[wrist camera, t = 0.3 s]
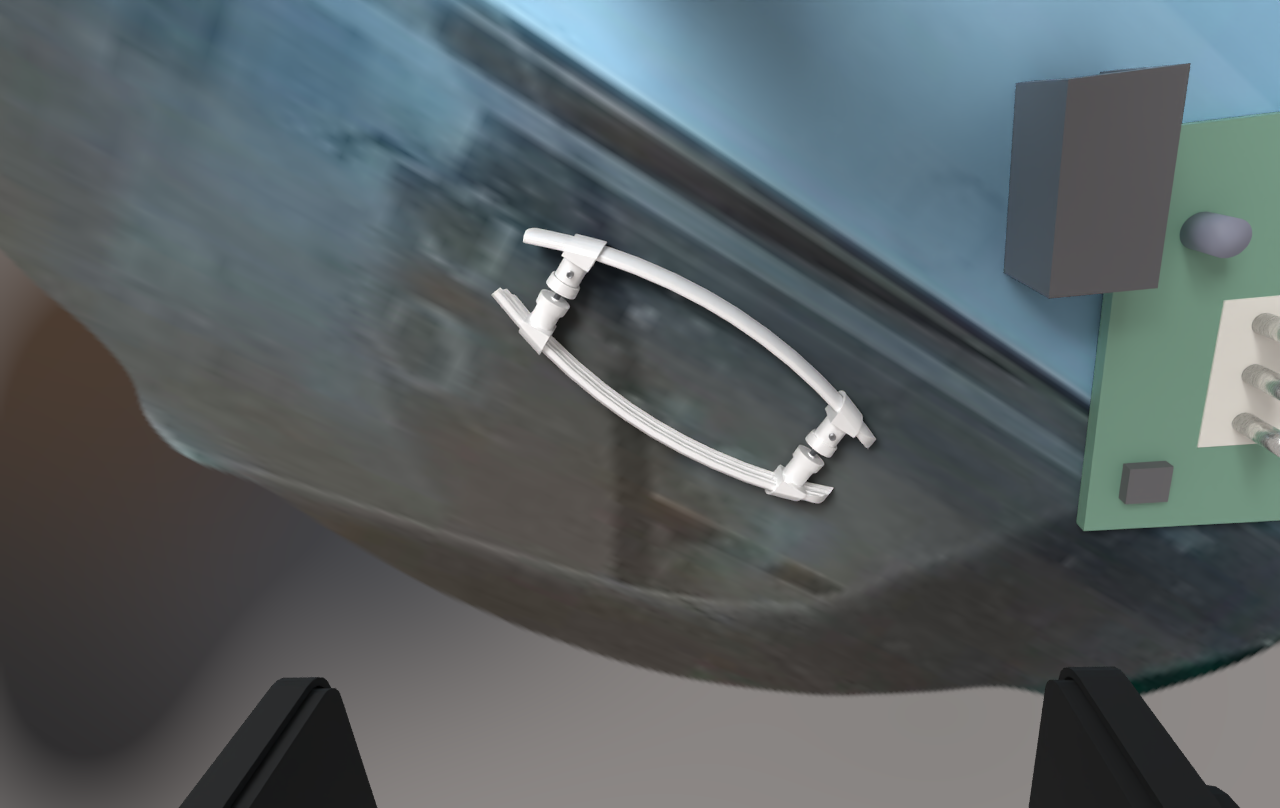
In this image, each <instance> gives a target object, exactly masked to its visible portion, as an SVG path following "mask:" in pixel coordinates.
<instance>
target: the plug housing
mask: <svg viewBox="0 0 1280 808" xmlns="http://www.w3.org/2000/svg"><path fill="white" fill-rule="evenodd" d="M1190 64H1191V63H1188V64H1177V65H1165V66H1154V67H1143V68H1131V69H1120V70H1112V71H1104V72H1100V74H1098V75H1090V76H1083V77H1075V78H1063V79H1050V80H1037V81H1028V82H1021V83H1016V90H1015V105H1014V120H1013V136H1012V151H1011V167H1010V182H1009V197H1008V213H1007V228H1006V244H1005V259H1004V273H1005V274H1007V275H1008V276H1010V277H1012V278H1014V279H1015V280H1017V281H1019V282H1021V283H1022V284H1024V285H1026V286H1028V287H1029V288H1031V289H1033V290H1035V291H1036V292H1038V293H1040V294H1042V295H1044V296H1045V297H1047V298H1059V297H1070V296H1081V295H1091V294H1102V293H1112V292H1123V291H1134V290H1144V289H1155V288H1158V283H1159V276H1160V269H1161V262H1162V255H1163V249H1164V242H1165V235H1166V228H1167V221H1168V214H1169V208H1170V201H1171V194H1172V187H1173V180H1174V173H1175V166H1176V160H1177V153H1178V146H1179V139H1180V132H1181V125H1182V119H1183V112H1184V105H1185V98H1186V91H1187V84H1188V77H1189V71H1190Z"/></svg>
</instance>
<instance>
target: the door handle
mask: <svg viewBox="0 0 1280 808" xmlns="http://www.w3.org/2000/svg"><path fill="white" fill-rule="evenodd" d="M523 243H527V244H532V245H537V246H541V247H546V248H551V249H555V250H560V251H564V252H563V254H562V255H561V256H563V257H564V258H563V260H562V262H561V263H560V265H559V267H558V269H557V270H556V271H553V272H552V273H551V275H550V276H549V278H548V279H547V281H546V283H547V285H548V286H549V287H550V288H551V289H552V290H553V291H554V292H556V293H554V292H552V291H549V290H545V289H543V290H541V292H540V294H539V296H538V298H537V300H536V303H537V305H536V307H535V309H534V311H532V312H531V313H530V312H529V311H528V309H527V308H526V307H525V306H524V304H523V303H522V302H521V301H520V300H519V298H518V297H517V296H515V295H512V294H511V293H510V292H509V290H508V289H504V290H502V289H501V287H500V288H499V289H498V290H496V291H495V292H494V293H493V294H491V295H492V296H493V298H494V299H495V300H496V301H497V302H498V303H499V305H500V306H501V307H502V308H503V309H504V311H505V312H506V313H507V314H508V315H509V317H510V318H511V319H512V320H513V321H514V323H515V324H516V325H517V326H518V327H519V328H520V329H519V333H520V334H521V335H522V336H523V338H524V339H525V340H526V341H527V342H528V343H529V344H530V345H531V346H532V348H533V349H534V350H535V351H536V352H537V353H538V354H539V355H540V354H541V352H543V353H544V354H545V355H546V356H547V357H548V358H549V359H550V360H551V361H552V362H553V363H554V364H555V365H557V366H558V367H559V368H560V369H561V370H562V371H563V372H564V373H565V374H566V375H567V376H568V377H570V378H571V379H572V380H573V381H574V382H576V383H577V384H578V385H579V386H580V387H582V388H583V389H584V390H585V391H586V392H588V393H589V394H590V395H591V396H592V397H594V398H595V399H596V400H597V401H599V402H600V403H602V404H603V405H604V406H606V407H607V408H608V409H610V410H611V411H612V412H614V413H615V414H617V415H618V416H619V417H621V418H622V419H623V420H625V421H626V422H628V423H630V424H631V425H633V426H634V427H636V428H637V429H639V430H640V431H642V432H644V433H645V434H647V435H648V436H650V437H652V438H653V439H655V440H657V441H659V442H661V443H662V444H664V445H666V446H668V447H669V448H671V449H673V450H675V451H677V452H678V453H680V454H682V455H684V456H686V457H688V458H691V459H693V460H695V461H697V462H699V463H701V464H703V465H705V466H707V467H709V468H711V469H714V470H716V471H719V472H721V473H724V474H726V475H728V476H731V477H733V478H736V479H738V480H741V481H743V482H746V483H749V484H752V485H755V486H758V487H761V488H764V489H765V492H766V494H769V495H773V496H777V497H781V498H785V499H789V500H793V501H800V500H804V501H808V502H812V503H821V502H823V501H824V500H825V498H826V497H827V496H828V495H829V494H830V493H831V491H832V490H833V487H829V486H824V485H819V484H815V483H810V482H806V481H807V480H808V478H809V477H810V476H811V475H812V474H813V473H817V472H818V471H819V470H820V469H821V468H822V467H823V466H824V462H823V460H822V459H821V458H820V457H819V456H818V455H817V453H819V454H821V455H823V456H825V457H828V458H830V457H831V456H832V455H833V453H834V452H835V451H836V449H837V446H836V445H837V444H838V443H839V441H840V440H841V439H842V438H843V437H844V435H845V434H846V433H847V434H848V435H850V436H851V437H853V438H854V437H855V436H856V437H857V438H858V439H859V440H860V442H861V443H862V444H863V445H864V446H865V447H866V448H869V447H870V446H871V445H872V444H873V443H874V441H875V440H876V438H875V437H874V435H873V434H872V432H871V431H870V429H869V428H868V427H867V425H866V424H865V423H864V422H863V416H862V414H861V412H860V411H859V410H858V408H857V407H856V406H855V405H854V403H853V402H852V401H851V399H850V398H849V397H848V396H847V394H846V393H845V392H844V391H842V390H841V391H839V392H838V391H837V390H836V389H835V388H834V387H833V386H832V385H831V384H830V383H829V382H828V381H827V380H826V379H825V378H824V377H823V376H822V375H821V374H820V373H819V372H818V371H817V370H816V369H815V368H814V367H813V366H812V365H810V364H809V363H808V362H807V361H806V360H805V359H804V358H803V357H802V356H801V355H800V354H799V353H797V352H796V351H795V350H794V349H793V348H791V347H790V346H789V345H788V344H786V343H785V342H784V341H783V340H781V339H780V338H779V337H778V336H776V335H775V334H774V333H773V332H771V331H770V330H769V329H768V328H766V327H765V326H763V325H762V324H760V323H759V322H758V321H756V320H755V319H753V318H752V317H750V316H749V315H747V314H746V313H745V312H743V311H742V310H740V309H739V308H737V307H736V306H734V305H732V304H731V303H729V302H727V301H726V300H724V299H722V298H721V297H719V296H717V295H716V294H714V293H712V292H711V291H709V290H707V289H705V288H703V287H701V286H699V285H697V284H695V283H693V282H691V281H690V280H688V279H686V278H684V277H682V276H680V275H678V274H676V273H674V272H671V271H669V270H667V269H664V268H662V267H660V266H658V265H655V264H653V263H651V262H648V261H646V260H644V259H641V258H639V257H636V256H633V255H630V254H628V253H625V252H622V251H619V250H617V249H614V248H611V247H608V246H605V245H606V243H607V241H603V240H599V239H595V238H591V237H587V236H583V235H579V234H575V236H571V235H567V234H563V233H558V232H553V231H549V230H544V229H539V228H530V229H527V230H526V232H525V234H524V238H523ZM596 261H598V262H601V263H604V264H607V265H610V266H612V267H615V268H618V269H621V270H624V271H627V272H629V273H632V274H635V275H637V276H639V277H642V278H644V279H646V280H649V281H651V282H653V283H656V284H658V285H660V286H663V287H665V288H667V289H669V290H671V291H673V292H675V293H677V294H679V295H681V296H683V297H685V298H687V299H689V300H691V301H693V302H695V303H697V304H699V305H701V306H703V307H704V308H706V309H708V310H709V311H711V312H713V313H714V314H716V315H718V316H719V317H721V318H723V319H724V320H726V321H728V322H729V323H731V324H732V325H734V326H735V327H737V328H738V329H740V330H741V331H743V332H744V333H746V334H747V335H748V336H750V337H751V338H753V339H754V340H756V341H757V342H759V343H760V344H761V345H763V346H764V347H765V348H766V349H768V350H769V351H770V352H771V353H773V354H774V355H775V356H777V357H778V358H779V359H780V360H782V361H783V362H784V363H785V364H787V365H788V366H789V367H790V368H791V369H792V370H793V371H795V372H796V373H797V374H798V375H799V376H800V377H801V378H802V379H803V380H804V381H806V382H807V383H808V384H809V385H810V386H811V387H812V388H813V389H814V390H815V391H816V392H817V393H818V394H819V395H820V396H821V397H822V398H823V399H824V400H825V401H826V402H827V403H828V406H827V407H826V408H825V410H826V413H827V417H826V418H825V419H824V420H823V422H822V423H821V424H820V425H819V427H818V428H817V429H816V430H815V429H813V430H812V431H811V432H810V433H809V434H808V435H807V436H806V438H805V439H806V441H807V443H808V444H809V445H810V446H811V447H812V448H813V449H812V450H811V449H809V448H807V447H806V446H803V445H799V446H798V447H797V449H796V450H795V452H794V453H793V458H792V460H791V461H790V462H789V463H788V464H787V466H786V467H784V466H782V465H781V464H780V465H779V466H778V467H777V469H776V470H775V471H774V472H772V471H769V470H766V469H763V468H760V467H757V466H754V465H751V464H748V463H745V462H743V461H741V460H738V459H736V458H733V457H731V456H728V455H726V454H724V453H721V452H719V451H716V450H714V449H712V448H710V447H708V446H706V445H704V444H702V443H700V442H698V441H696V440H693V439H691V438H689V437H687V436H685V435H684V434H682V433H680V432H678V431H676V430H675V429H673V428H671V427H669V426H668V425H666V424H664V423H662V422H660V421H659V420H657V419H655V418H654V417H652V416H651V415H649V414H648V413H646V412H645V411H643V410H641V409H640V408H638V407H637V406H635V405H634V404H632V403H631V402H630V401H628V400H627V399H625V398H624V397H623V396H621V395H620V394H619V393H617V392H616V391H615V390H613V389H612V388H611V387H609V386H608V385H607V384H605V383H604V382H603V381H602V380H600V379H599V378H598V377H597V376H596V375H594V374H593V373H592V372H591V371H590V370H588V369H587V368H586V367H585V366H584V365H582V364H581V363H580V362H579V361H578V360H577V359H576V358H575V357H574V356H573V355H571V354H570V353H569V352H568V351H567V350H566V349H565V348H564V347H563V346H562V345H561V344H560V343H559V342H558V341H557V340H556V339H555V338H554V337H553V336H552V334H553V332H554V330H555V329H556V327H557V326H556V323H557V321H558V320H559V318H560V317H563V316H564V315H565V314H566V312H567V311H568V309H569V308H570V305H569V304H568V302H567V301H566V300H565V299H563V298H562V297H561V296H563V297H565V298H568V299H575V298H576V296H577V294H578V292H579V290H580V286H579V284H580V283H581V281H582V279H583V278H584V276H585V274H586V272H588V271H589V270H590V269H591V267H592V266H593V265H594V263H595V262H596Z"/></svg>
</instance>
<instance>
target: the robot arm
mask: <svg viewBox="0 0 1280 808" xmlns="http://www.w3.org/2000/svg"><path fill="white" fill-rule="evenodd" d="M179 808H377V806H376V802H375V799H374V796H373V793H372V790H371V787H370V784H369V781H368V778H367V775H366V772H365V769H364V766H363V763H362V759H361V756H360V753H359V750H358V747H357V744H356V741H355V738H354V735H353V732H352V729H351V726H350V723H349V719H348V716H347V713H346V710H345V707H344V704H343V701H342V698H341V696H340V693H339V691H338V690H336V689H335V688H331V687H330V685H329V683H328V681H327V680H326V679H324V678H319V677H315V678H314V677H310V678H282V679H280V680H277V681H276V683H274V684H273V685H272V686H271V688H270V689H269V690H268V692H267V693H266V694H265V695H264V697H263V698H262V699H261V701H260V702H259V703H258V705H257V706H256V708H255V709H254V710H253V711H252V713H251V714H250V715H249V716H248V718H247V719H246V720H245V722H244V723H243V724H242V726H241V727H240V728H239V730H238V731H237V732H236V733H235V735H234V736H233V737H232V739H231V740H230V741H229V743H228V744H227V745H226V747H225V748H224V749H223V751H222V752H221V753H220V755H219V756H218V757H217V758H216V760H215V761H214V762H213V764H212V765H211V766H210V768H209V769H208V770H207V772H206V773H205V774H204V775H203V777H202V778H201V779H200V781H199V782H198V783H197V785H196V786H195V787H194V789H193V790H192V791H191V793H190V794H189V795H188V797H187V798H186V799H185V800H184V802H183V803H182V804H181V806H180V807H179ZM1029 808H1240V807H1239V806H1238V805H1237V804H1236V803H1235V802H1234V801H1233V800H1232V799H1231V798H1230V796H1229V795H1228V794H1226V793H1225V792H1223V791H1222V790H1220V789H1219V788H1217V787H1215V786H1209V785H1206V784H1205V783H1204V781H1203V780H1202V779H1201V777H1200V776H1199V775H1198V773H1197V772H1196V771H1195V769H1194V768H1193V767H1192V765H1191V764H1190V762H1189V761H1188V760H1187V758H1186V757H1185V756H1184V754H1183V753H1182V752H1181V750H1180V749H1179V748H1178V746H1177V745H1176V743H1175V742H1174V741H1173V739H1172V738H1171V737H1170V735H1169V734H1168V733H1167V731H1166V730H1165V728H1164V727H1163V726H1162V724H1161V723H1160V722H1159V720H1158V719H1157V718H1156V716H1155V715H1154V714H1153V712H1152V711H1151V709H1150V708H1149V707H1148V706H1147V704H1146V703H1145V701H1144V700H1143V699H1142V697H1141V696H1140V694H1139V693H1138V692H1137V690H1136V689H1135V688H1134V686H1133V685H1132V684H1131V682H1130V681H1129V680H1128V678H1127V677H1126V676H1125V675H1124V673H1123V672H1122V671H1121V670H1119V669H1118V668H1116V667H1068V668H1063V670H1062V671H1061V672H1060V676H1059V680H1049V681H1048V682H1047V684H1046V688H1045V694H1044V701H1043V708H1042V716H1041V723H1040V730H1039V738H1038V744H1037V751H1036V759H1035V766H1034V773H1033V780H1032V788H1031V795H1030V802H1029Z"/></svg>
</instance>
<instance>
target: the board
mask: <svg viewBox="0 0 1280 808" xmlns="http://www.w3.org/2000/svg"><path fill="white" fill-rule="evenodd" d="M1262 313H1271V314H1274V315H1276V316H1279V317H1280V112H1272V113H1264V114H1256V115H1247V116H1239V117H1231V118H1223V119H1214V120H1206V121H1198V122H1189V123H1182V125H1181V132H1180V139H1179V146H1178V153H1177V160H1176V166H1175V173H1174V180H1173V187H1172V194H1171V201H1170V208H1169V214H1168V221H1167V228H1166V235H1165V242H1164V249H1163V255H1162V262H1161V269H1160V276H1159V283H1158V288H1155V289H1144V290H1134V291H1123V292H1112V293H1103V301H1102V310H1101V318H1100V327H1099V335H1098V343H1097V352H1096V360H1095V369H1094V377H1093V386H1092V394H1091V403H1090V411H1089V419H1088V428H1087V436H1086V445H1085V453H1084V462H1083V470H1082V479H1081V487H1080V495H1079V504H1078V512H1077V521H1076V523H1077V524H1078V525H1079V526H1080V527H1081V529H1082V530H1083V531H1094V530H1113V529H1131V528H1149V527H1168V526H1186V525H1204V524H1223V523H1241V522H1259V521H1278V520H1280V457H1278V456H1277V455H1275V454H1273V453H1272V452H1270V451H1268V450H1267V449H1265V448H1264V447H1262V446H1260V445H1259V444H1257V443H1256V442H1254V441H1252V440H1251V439H1249V438H1247V437H1246V436H1244V435H1243V434H1241V433H1239V432H1238V431H1236V430H1235V429H1233V427H1232V421H1233V419H1234V418H1235V417H1236V416H1237V415H1238V414H1240V413H1245V412H1247V413H1251V414H1253V415H1254V416H1256V417H1258V418H1260V419H1261V420H1263V421H1265V422H1267V423H1268V424H1270V425H1272V426H1274V427H1275V428H1277V429H1279V430H1280V400H1278V399H1276V398H1274V397H1272V396H1270V395H1268V394H1266V393H1264V392H1262V391H1260V390H1258V389H1257V388H1255V387H1253V386H1251V385H1249V384H1247V383H1245V382H1244V381H1243V380H1242V378H1241V375H1242V372H1243V370H1244V369H1245V368H1246V367H1248V366H1249V365H1252V364H1260V365H1262V366H1264V367H1266V368H1268V369H1271V370H1273V371H1275V372H1277V373H1279V374H1280V343H1279V342H1277V341H1274V340H1272V339H1270V338H1267V337H1265V336H1262V335H1260V334H1258V333H1255V332H1254V331H1253V330H1252V327H1251V325H1252V322H1253V320H1254V319H1255V317H1257V316H1258V315H1260V314H1262Z"/></svg>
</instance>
